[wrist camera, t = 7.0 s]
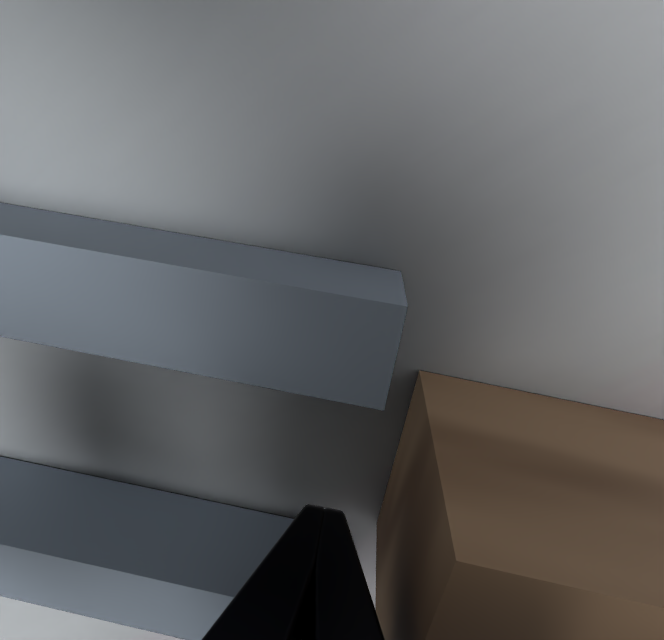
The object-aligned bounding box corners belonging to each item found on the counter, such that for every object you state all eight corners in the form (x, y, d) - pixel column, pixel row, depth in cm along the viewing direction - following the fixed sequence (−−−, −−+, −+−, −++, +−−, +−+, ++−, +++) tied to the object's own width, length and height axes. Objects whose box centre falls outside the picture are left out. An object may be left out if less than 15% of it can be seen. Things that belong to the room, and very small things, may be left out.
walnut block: (663, 587, 11) (876, 898, 6) (376, 523, 11) (373, 769, 7) (764, 440, 9) (1175, 723, 4) (419, 370, 9) (456, 560, 5)
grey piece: (335, 576, 12) (324, 672, 10) (-190, 461, 13) (-312, 522, 11) (400, 271, 9) (407, 306, 6) (-320, 147, 10) (-541, 138, 7)
